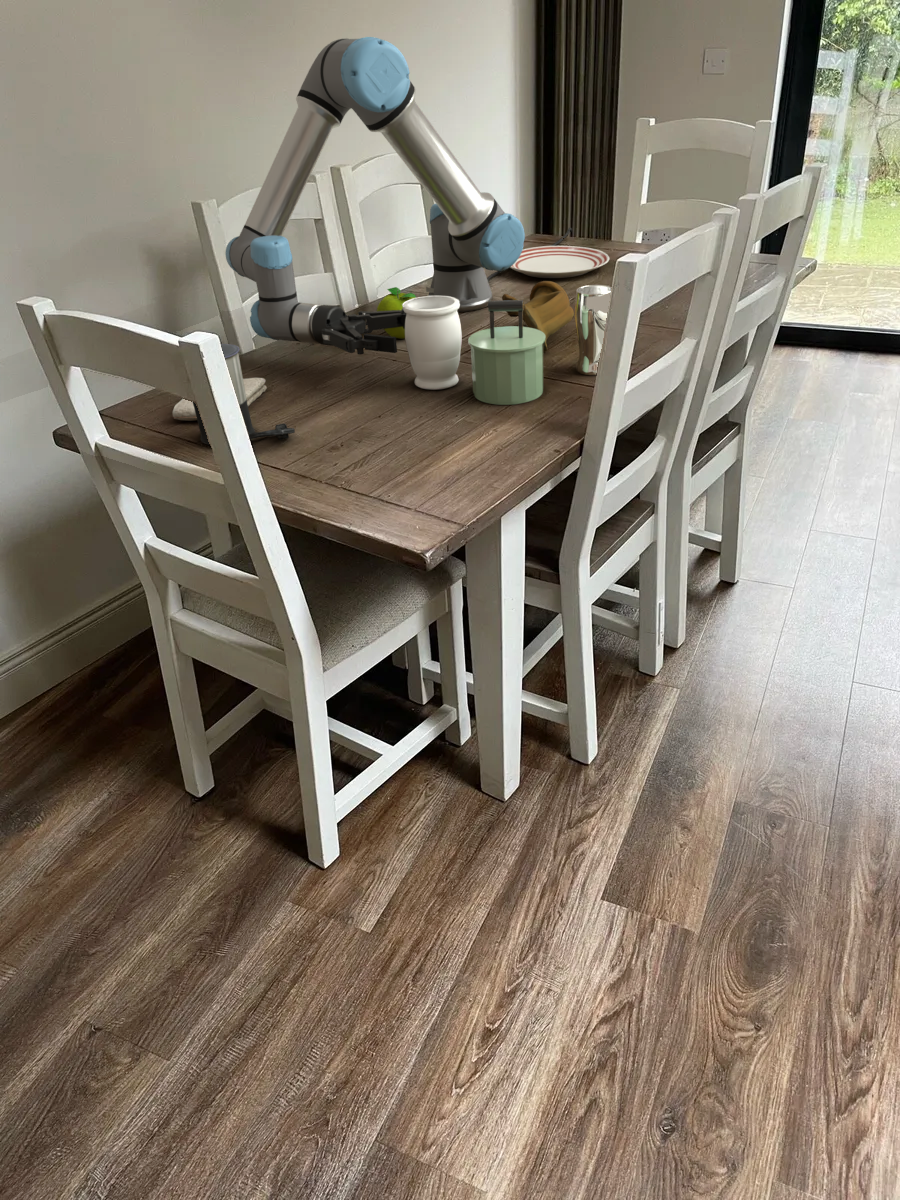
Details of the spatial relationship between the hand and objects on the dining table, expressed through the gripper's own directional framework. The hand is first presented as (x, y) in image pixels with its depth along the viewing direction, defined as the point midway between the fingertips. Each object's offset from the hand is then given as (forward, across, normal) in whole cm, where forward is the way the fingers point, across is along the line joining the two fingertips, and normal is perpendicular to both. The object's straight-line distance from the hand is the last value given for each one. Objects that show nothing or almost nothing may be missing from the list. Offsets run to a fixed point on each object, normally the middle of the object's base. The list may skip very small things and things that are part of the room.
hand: (414, 334), depth 172 cm
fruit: (-18, -23, -9) cm, 30 cm away
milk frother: (-13, +35, -9) cm, 39 cm away
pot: (+19, 0, -9) cm, 21 cm away
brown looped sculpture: (+12, -29, -9) cm, 33 cm away
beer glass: (+29, -16, -9) cm, 34 cm away
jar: (+4, 0, -9) cm, 10 cm away
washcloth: (-28, +24, -9) cm, 38 cm away
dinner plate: (-8, -86, -9) cm, 87 cm away
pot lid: (+19, 0, +1) cm, 19 cm away
